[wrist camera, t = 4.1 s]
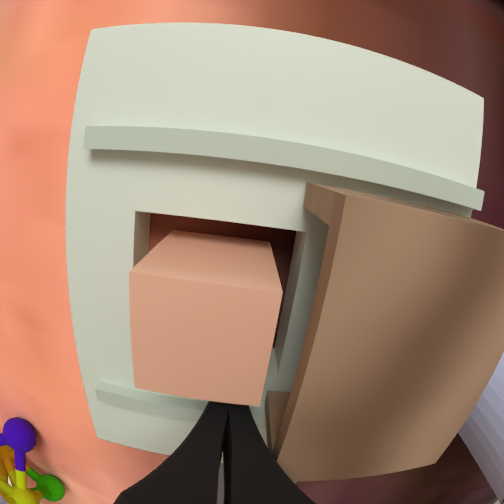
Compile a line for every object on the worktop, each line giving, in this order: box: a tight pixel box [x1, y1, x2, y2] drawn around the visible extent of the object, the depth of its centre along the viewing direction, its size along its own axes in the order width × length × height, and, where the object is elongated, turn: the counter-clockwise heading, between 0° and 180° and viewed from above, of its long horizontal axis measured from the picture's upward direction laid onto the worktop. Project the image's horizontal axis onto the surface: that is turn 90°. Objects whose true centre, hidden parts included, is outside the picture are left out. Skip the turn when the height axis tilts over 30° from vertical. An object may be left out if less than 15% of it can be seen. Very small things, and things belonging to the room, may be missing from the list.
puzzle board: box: [66, 23, 484, 463], centre depth 12 cm, size 16×20×3 cm
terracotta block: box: [129, 230, 283, 406], centre depth 11 cm, size 4×4×5 cm
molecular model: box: [0, 417, 65, 504], centre depth 12 cm, size 12×7×12 cm, turn 170°
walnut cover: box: [265, 182, 504, 482], centre depth 9 cm, size 7×9×4 cm
